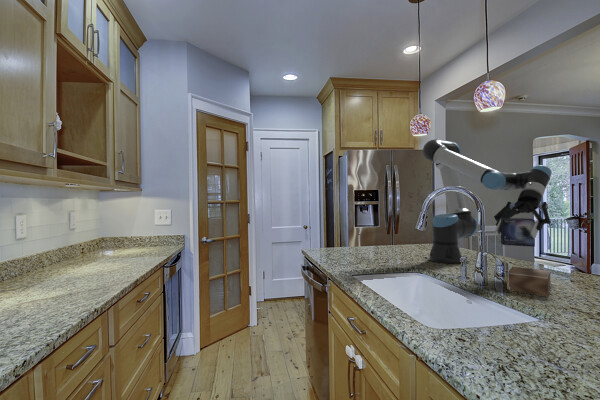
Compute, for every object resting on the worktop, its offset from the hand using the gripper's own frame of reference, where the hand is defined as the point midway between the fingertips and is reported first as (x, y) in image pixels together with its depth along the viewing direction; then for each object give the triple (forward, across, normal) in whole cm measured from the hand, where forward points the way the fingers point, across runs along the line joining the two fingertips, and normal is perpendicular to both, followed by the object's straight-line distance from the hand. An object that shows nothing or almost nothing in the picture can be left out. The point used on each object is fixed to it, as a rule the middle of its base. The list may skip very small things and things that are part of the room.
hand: (514, 234), depth 119 cm
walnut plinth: (+20, +9, +5) cm, 23 cm away
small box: (+1, 0, +5) cm, 5 cm away
